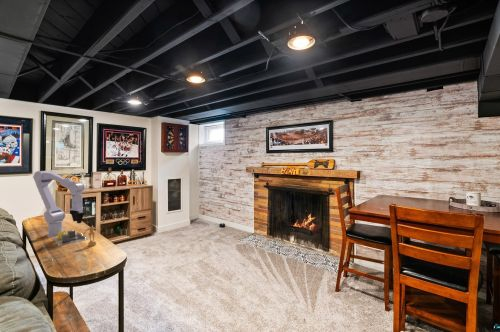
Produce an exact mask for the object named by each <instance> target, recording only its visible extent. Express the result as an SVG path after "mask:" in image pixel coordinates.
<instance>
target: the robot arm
mask: <svg viewBox="0 0 500 332" xmlns="http://www.w3.org/2000/svg"><path fill="white" fill-rule="evenodd" d="M32 178H33V181H34V182H35V185H36V188H37V190H38V193H39V196H40V198H41V200H42V203H43V205H44V207H45V209H46V211H44V213H43V215H44V220H45V222H46V224H47V233H46V234H45V235H46V236H47V237H48V238H54V237H55V238H56V237H58V232H62V231H63V222H64V219H65V218H66V212H65V211H63V209H62V208H61V207H58V206H57V204H56V202H55V199H54V197H53V194H52V192H51V191H50V188H49V184H50V183H51V182H53V181H55V182H57V183H60V186H62V187H64V188H65V189H68V191H69V192H70V195H71V208H69V213H70V215H71V217H72V221H73V222H76V224H81V223H83V222H82V221H83V218H84V215H85V213H86V212H85V211H84V210H83V209H84V207H83V191H84V190H85V185H84V183H83V182H77V181H76V180H75V181H74V180H72V178H70V177H66V178H64V177H63V176H61V175H59V174H58V173H57V172H56V171H53V170H50V169H49V170H36V171H35V172H34V173H33V176H32Z"/></svg>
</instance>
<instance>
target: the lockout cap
mask: <svg viewBox="0 0 500 332" xmlns="http://www.w3.org/2000/svg"><path fill="white" fill-rule="evenodd" d="M66 234H67V233H66V231H64V230H62V232H58V236H57V238H58V240H62V236H61V235H66Z"/></svg>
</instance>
